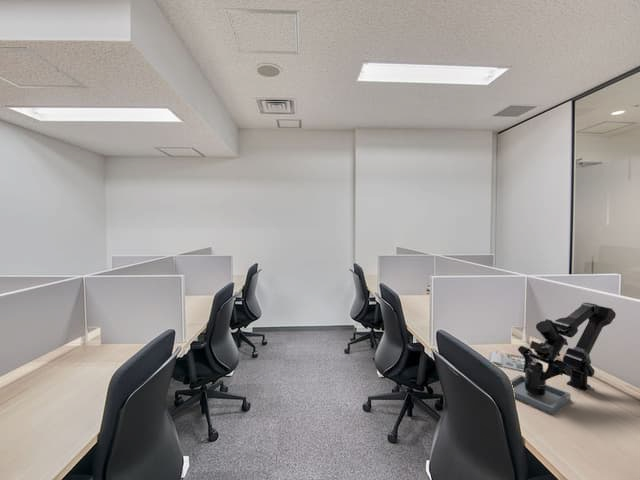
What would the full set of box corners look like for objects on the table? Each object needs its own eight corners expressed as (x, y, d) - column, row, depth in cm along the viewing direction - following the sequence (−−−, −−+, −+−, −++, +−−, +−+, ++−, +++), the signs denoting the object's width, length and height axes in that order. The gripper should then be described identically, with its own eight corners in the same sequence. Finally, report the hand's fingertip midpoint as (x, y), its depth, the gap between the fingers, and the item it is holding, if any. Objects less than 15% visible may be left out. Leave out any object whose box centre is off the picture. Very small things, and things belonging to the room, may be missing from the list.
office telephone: (487, 360, 147) (489, 347, 164) (487, 365, 147) (489, 352, 164) (545, 372, 134) (540, 356, 151) (545, 377, 134) (540, 361, 151)
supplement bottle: (544, 398, 113) (544, 368, 113) (523, 391, 118) (523, 363, 118) (546, 391, 118) (546, 362, 118) (526, 385, 123) (526, 358, 123)
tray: (520, 380, 131) (520, 374, 131) (570, 399, 116) (570, 393, 116) (500, 392, 121) (500, 386, 121) (552, 415, 106) (552, 408, 106)
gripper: (520, 327, 128) (502, 355, 125) (568, 343, 110) (547, 375, 107) (533, 342, 130) (515, 370, 127) (581, 360, 113) (561, 392, 110)
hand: (532, 376), depth 118 cm, fingers closed on supplement bottle, 7 cm apart
